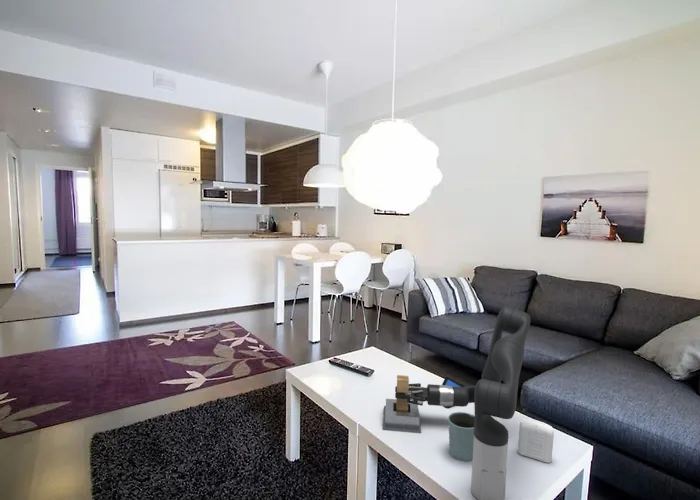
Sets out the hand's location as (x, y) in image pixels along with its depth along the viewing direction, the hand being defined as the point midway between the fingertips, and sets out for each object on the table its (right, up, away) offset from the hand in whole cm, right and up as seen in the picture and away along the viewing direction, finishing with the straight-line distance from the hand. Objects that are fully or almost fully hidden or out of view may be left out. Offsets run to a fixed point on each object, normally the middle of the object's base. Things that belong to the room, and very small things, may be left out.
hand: (395, 392), depth 146 cm
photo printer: (+44, -14, -20) cm, 51 cm away
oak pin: (+3, -8, 0) cm, 8 cm away
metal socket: (+2, -11, +1) cm, 11 cm away
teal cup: (+20, -13, -20) cm, 31 cm away
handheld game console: (+24, -10, +18) cm, 32 cm away
